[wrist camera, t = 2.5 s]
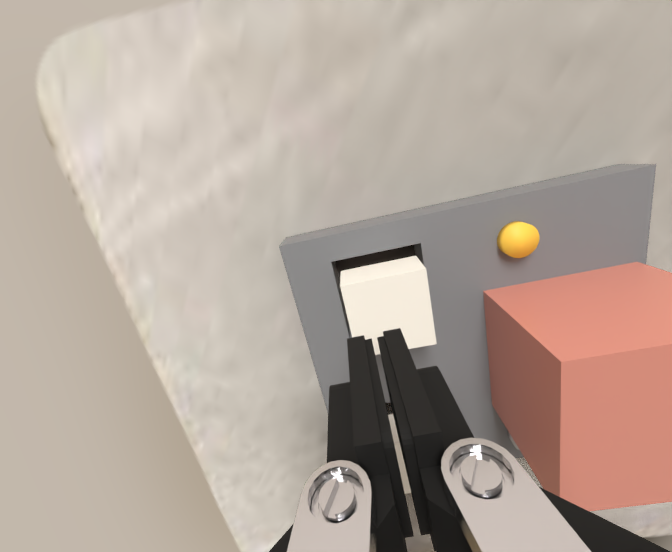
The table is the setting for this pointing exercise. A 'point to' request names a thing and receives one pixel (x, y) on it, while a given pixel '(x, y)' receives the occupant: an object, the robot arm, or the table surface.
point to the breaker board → (473, 269)
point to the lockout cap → (588, 381)
